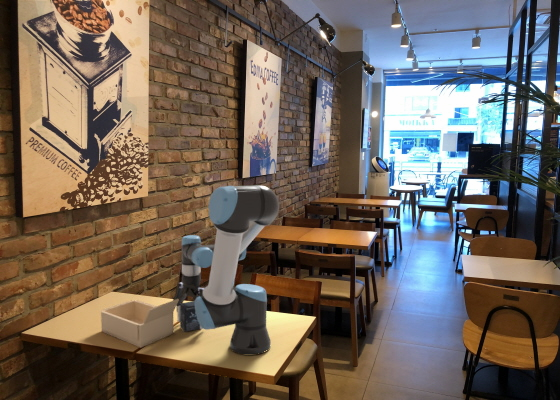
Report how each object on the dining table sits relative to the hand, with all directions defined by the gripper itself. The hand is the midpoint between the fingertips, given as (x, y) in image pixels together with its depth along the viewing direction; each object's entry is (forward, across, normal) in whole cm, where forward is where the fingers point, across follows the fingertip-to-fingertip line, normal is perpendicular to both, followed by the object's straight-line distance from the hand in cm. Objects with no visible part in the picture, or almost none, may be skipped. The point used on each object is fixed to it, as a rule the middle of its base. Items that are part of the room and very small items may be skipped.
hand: (191, 324), depth 183 cm
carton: (+2, +14, +16) cm, 21 cm away
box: (+2, 0, 0) cm, 2 cm away
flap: (-7, +1, +16) cm, 18 cm away
